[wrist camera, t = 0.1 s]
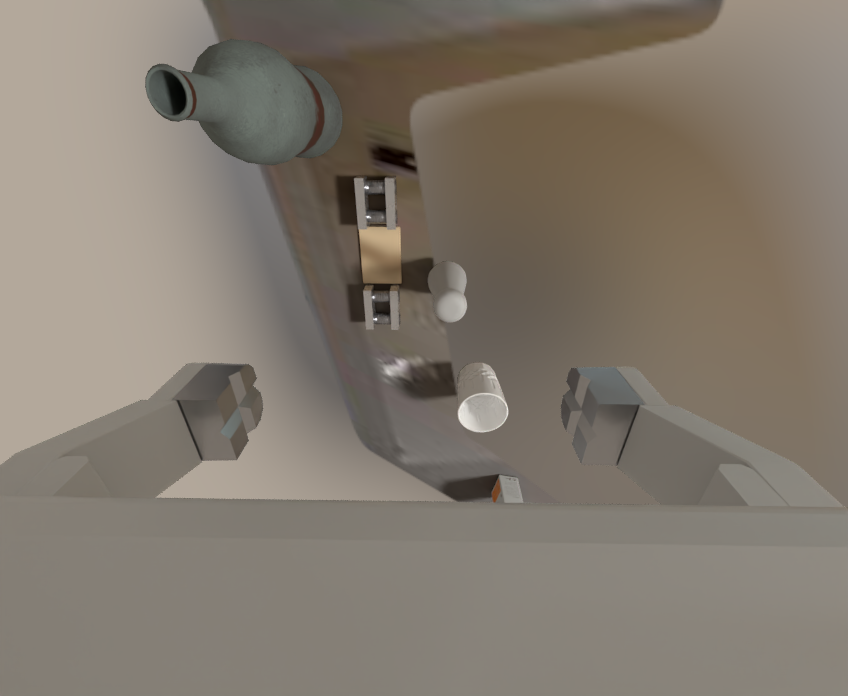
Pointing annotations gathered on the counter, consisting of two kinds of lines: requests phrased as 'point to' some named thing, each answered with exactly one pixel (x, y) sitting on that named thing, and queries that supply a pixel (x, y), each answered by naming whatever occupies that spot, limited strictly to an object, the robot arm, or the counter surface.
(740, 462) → the robot arm
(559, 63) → the counter surface
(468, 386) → the white cup
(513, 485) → the skincare box
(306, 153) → the bottle
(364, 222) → the chain end
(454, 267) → the salt shaker
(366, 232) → the pad
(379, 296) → the chain end
